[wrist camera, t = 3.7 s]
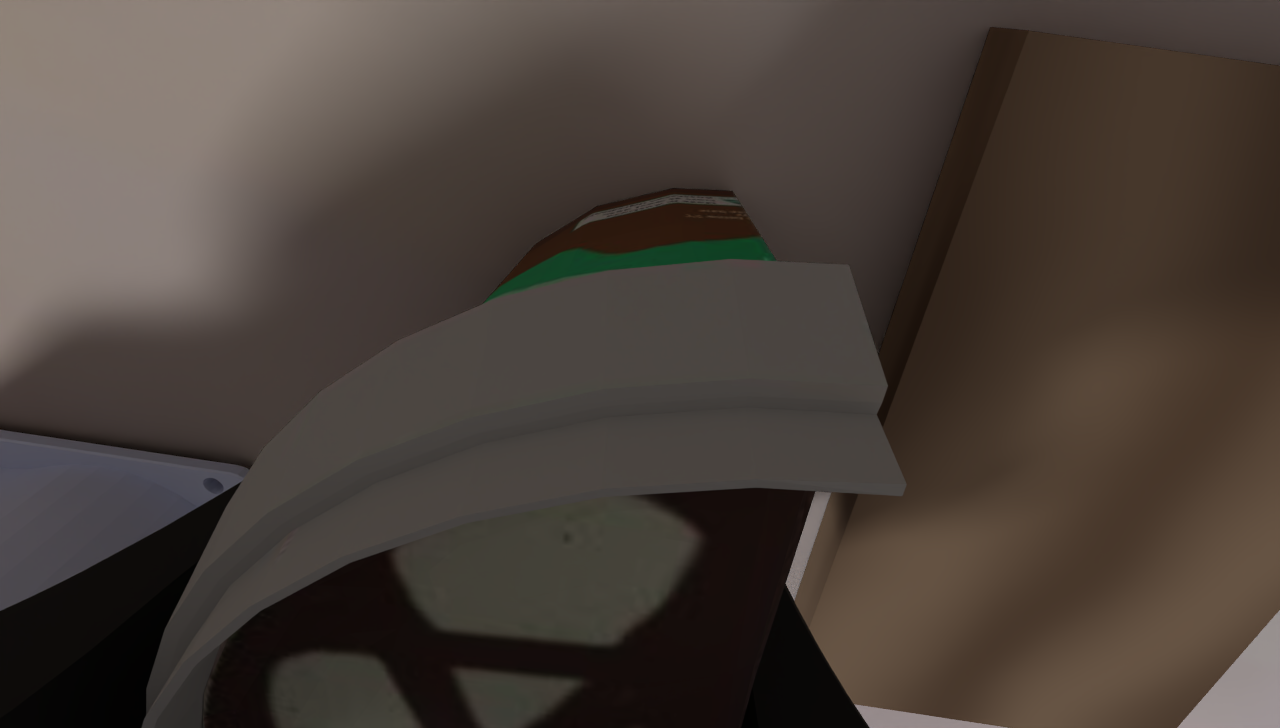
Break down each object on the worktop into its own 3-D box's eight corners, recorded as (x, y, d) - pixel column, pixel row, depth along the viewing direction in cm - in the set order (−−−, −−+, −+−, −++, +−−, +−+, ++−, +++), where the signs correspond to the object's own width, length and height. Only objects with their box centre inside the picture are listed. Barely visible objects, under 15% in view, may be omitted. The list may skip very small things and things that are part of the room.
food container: (413, 64, 12) (-282, 250, 3) (748, 109, 12) (942, 406, 3) (434, 554, 18) (210, 1080, 9) (658, 581, 18) (644, 1125, 9)
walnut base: (779, 645, 19) (784, 693, 18) (990, 26, 11) (1028, 30, 10) (1125, 697, 19) (1157, 750, 18) (1583, 110, 11) (1701, 124, 10)
